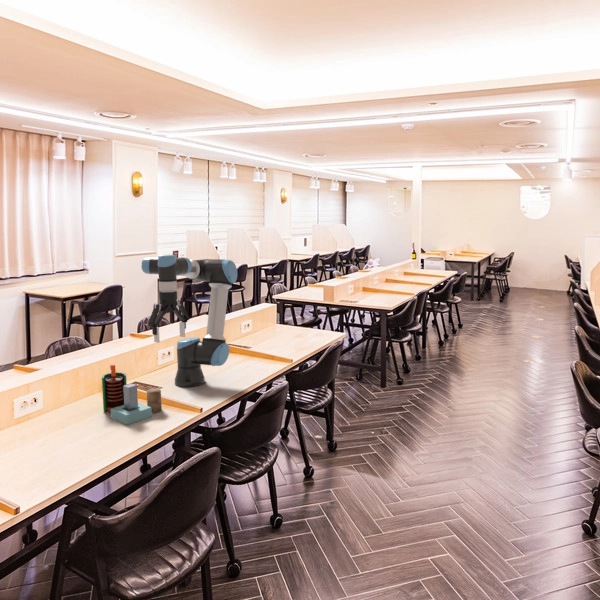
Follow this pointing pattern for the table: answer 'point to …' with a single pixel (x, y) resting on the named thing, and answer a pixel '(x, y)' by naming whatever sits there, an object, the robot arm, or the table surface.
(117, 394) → the motor
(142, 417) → the socket block
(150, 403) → the round dowel
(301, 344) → the table surface
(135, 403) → the square bit
